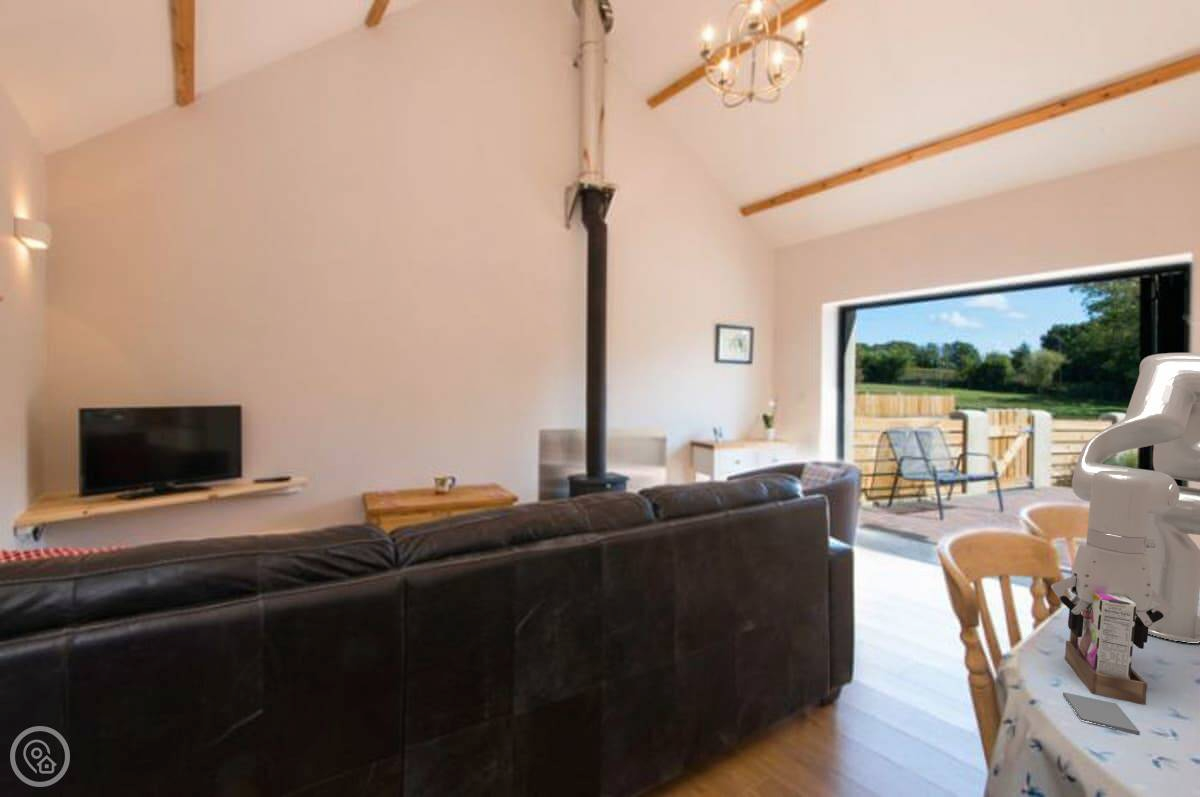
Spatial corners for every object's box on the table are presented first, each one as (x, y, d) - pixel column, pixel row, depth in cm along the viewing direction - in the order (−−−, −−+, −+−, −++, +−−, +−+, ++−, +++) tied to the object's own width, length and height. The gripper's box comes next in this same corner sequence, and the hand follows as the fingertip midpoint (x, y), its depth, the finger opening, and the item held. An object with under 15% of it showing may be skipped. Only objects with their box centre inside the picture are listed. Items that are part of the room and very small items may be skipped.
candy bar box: (1073, 661, 107) (1080, 576, 106) (1107, 669, 104) (1115, 582, 103) (1091, 690, 97) (1100, 597, 96) (1130, 699, 94) (1139, 603, 93)
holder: (1111, 667, 105) (1115, 625, 104) (1145, 704, 93) (1150, 657, 93) (1064, 658, 108) (1068, 617, 107) (1091, 693, 96) (1096, 647, 95)
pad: (1116, 706, 92) (1116, 703, 92) (1139, 734, 85) (1139, 731, 85) (1062, 694, 95) (1063, 692, 95) (1081, 721, 88) (1081, 718, 88)
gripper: (1169, 544, 99) (1159, 642, 100) (1046, 529, 106) (1039, 620, 107) (1193, 556, 92) (1182, 661, 93) (1060, 539, 99) (1052, 637, 100)
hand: (1105, 639), depth 100 cm, fingers open, 7 cm apart
